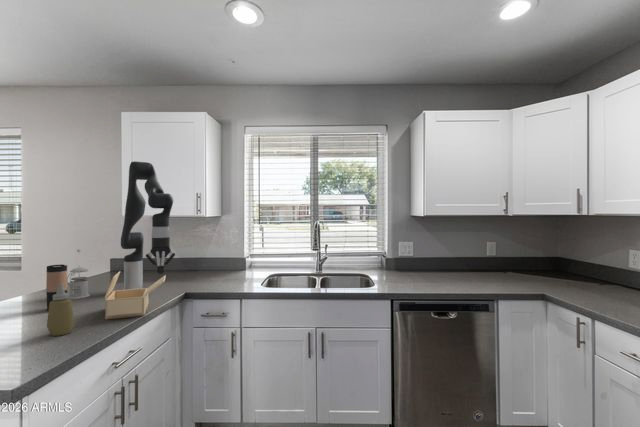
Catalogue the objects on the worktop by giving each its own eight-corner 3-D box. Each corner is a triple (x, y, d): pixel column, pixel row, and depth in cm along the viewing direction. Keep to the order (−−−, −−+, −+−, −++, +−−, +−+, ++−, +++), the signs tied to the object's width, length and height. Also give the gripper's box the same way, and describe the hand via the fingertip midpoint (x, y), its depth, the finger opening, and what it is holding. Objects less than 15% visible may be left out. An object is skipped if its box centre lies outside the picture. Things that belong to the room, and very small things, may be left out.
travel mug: (42, 312, 151) (42, 267, 151) (51, 307, 159) (51, 264, 159) (62, 310, 153) (62, 266, 153) (70, 306, 161) (70, 264, 161)
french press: (78, 299, 174) (78, 250, 174) (59, 298, 176) (59, 250, 176) (94, 294, 184) (94, 248, 184) (76, 293, 186) (76, 248, 186)
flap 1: (111, 290, 157) (119, 271, 158) (112, 290, 157) (120, 271, 158) (104, 298, 141) (112, 277, 142) (105, 298, 141) (113, 277, 143)
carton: (114, 306, 160) (114, 289, 160) (148, 303, 166) (148, 287, 166) (104, 321, 139) (104, 301, 139) (143, 317, 144) (143, 298, 144)
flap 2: (148, 287, 163) (165, 274, 165) (149, 287, 163) (165, 275, 165) (145, 295, 147) (163, 281, 150) (146, 295, 147) (164, 282, 150)
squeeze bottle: (79, 329, 129) (79, 282, 129) (64, 337, 121) (63, 286, 121) (57, 329, 128) (57, 282, 128) (40, 337, 120) (40, 287, 120)
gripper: (176, 235, 163) (176, 271, 163) (145, 236, 158) (145, 273, 158) (176, 236, 156) (176, 274, 156) (143, 237, 151) (143, 276, 151)
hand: (160, 273), depth 157 cm, fingers closed
